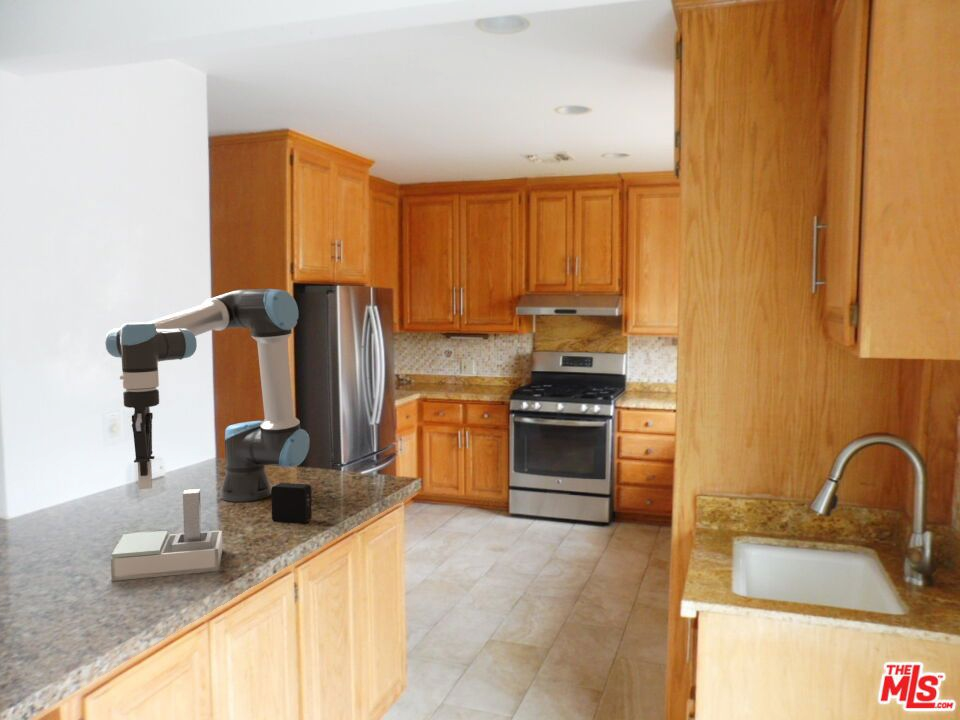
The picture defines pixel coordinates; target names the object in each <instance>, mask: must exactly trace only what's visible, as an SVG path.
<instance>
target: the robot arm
mask: <svg viewBox="0 0 960 720" xmlns="http://www.w3.org/2000/svg"><path fill="white" fill-rule="evenodd" d="M298 320H299V308H298V304H297V302H296V300H295V298H294V297H293V296H292V295H291V294H290V292H288V291H286V290H283V289H276V288H267V289H266V288H261V289H257V288H256V289H245V288H244V289H236V290H233V291H230V292H226V293H223V294H220V295H218V296H214V297H212V298H208V299H206V300H205V301H204V302H203V303H202V304H201V305H197V306H195V307H192V308H189V309H184V310H182V311H179V312H175V313H173V314H169V315H166V316H164V317H160V318H158V319H154V320H151V321H147V322H126V323H124V324H122V325H121V327H119V328H112V329H111V330H110V331H108V333H107V334H106V337H105V338H104V339H105V341H104V345H105V349H106V351H107V353H109V355H110V356H112V357H115V358H119V359H121V368H122V369H121V370H122V375H120V376H119V380H122V387H123V389H124V391H123V406H124V407H125V408H129V409H130V408H132V409H134V411H133V414H131V422H132V423H131V427H132V428H131V429H132V433H133V443H134V452H135V459H133V463H134V464H135V463H137V475H138V476H137V477H138V480H137V481H138V490H147V489H153V469H152V460H154V459H155V457H156V456H155V455H153V416H154V415H153V412H151V409H150V408H152V407H156V406H158V405H159V404H160V392H159V389H158V387H160V383H159V378H160V377H159V367H158V365H159V362H166V361H173V360H175V361H176V360H178V361H179V360H181V361H182V360H184V359H189V358H191V357H192V356H193V355H194V354H195V353H196V350H197V338H196V336H199V335H201V334H204V333H207V332H210V331H217V332H218V331H219V332H220V331H223V330H226V329H248V330H249V329H250V337H251V338H252V339H253V340H255V342H256V343H257V351H258V353H257V354H258V362H259V372H260V374H259V375H260V383H261V385H260V386H261V394H262V402H263V403H262V404H263V413H264V415H263V416H264V419H263V420H253V421H252V420H251V421H246V422H245V421H244V422H238V423H234V424H231V425H228V426H227V427H226V428H225V433H224V434H225V435H224V448H225V449H224V451H225V471H226V472H225V475H224V479H223V482H222V485H221V488H220V499H222V500H223V501H226V502H227V501H228V502H234V503H235V502H236V503H238V502H240V503H241V502H252V501H253V502H254V501H258V500H262V499H266V498H268V497H269V496H271V488H272V485H271V482H270V480H269V476H268V474H267V471H266V466H272V467H280V468H295V467H297V466H300V465H301V464H302V463H303V462H304V460H305V459H306V458H307V455H308V453H309V449H310V442H311V441H310V435H309V433H308V432H307V431H306V430H305V429H303V428H301V423H300V422H301V421H300V420H299V419H298V418H297V417H296V416H295V414H294V412H295V411H294V400H293V390H292V389H293V388H292V379H291V378H292V377H291V370H290V369H291V368H290V357H289V346H288V339H289V337H291V335H292V334H293V333H292V329H294V328H295V327H296V325H297V324H298Z"/></svg>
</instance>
